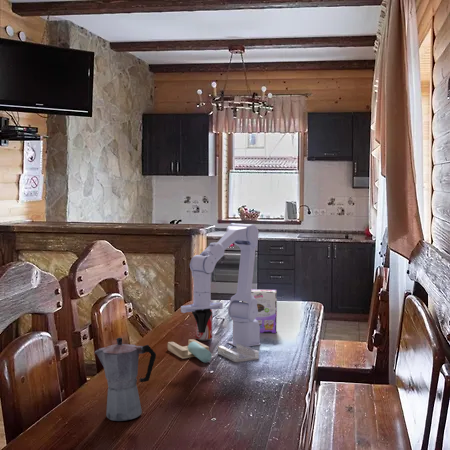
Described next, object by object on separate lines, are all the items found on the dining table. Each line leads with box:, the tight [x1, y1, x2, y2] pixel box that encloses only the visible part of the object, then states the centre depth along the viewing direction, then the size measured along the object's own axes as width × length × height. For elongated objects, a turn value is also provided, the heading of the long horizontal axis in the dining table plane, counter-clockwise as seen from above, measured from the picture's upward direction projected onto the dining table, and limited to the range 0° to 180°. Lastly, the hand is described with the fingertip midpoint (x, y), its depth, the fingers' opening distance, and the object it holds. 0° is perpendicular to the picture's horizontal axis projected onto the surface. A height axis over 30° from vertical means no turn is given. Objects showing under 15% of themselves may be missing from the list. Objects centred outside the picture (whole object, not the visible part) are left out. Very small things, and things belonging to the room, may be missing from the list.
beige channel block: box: [167, 338, 210, 360], centre depth 215 cm, size 10×12×3 cm
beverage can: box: [195, 309, 214, 342], centre depth 232 cm, size 6×6×12 cm
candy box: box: [241, 288, 278, 334], centre depth 245 cm, size 14×6×16 cm, turn 84°
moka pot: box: [94, 337, 157, 422], centre depth 157 cm, size 10×15×20 cm, turn 95°
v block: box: [217, 343, 260, 363], centre depth 211 cm, size 9×12×3 cm
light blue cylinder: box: [187, 342, 213, 364], centre depth 207 cm, size 10×4×4 cm, turn 29°
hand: (201, 332), depth 205 cm, fingers closed
